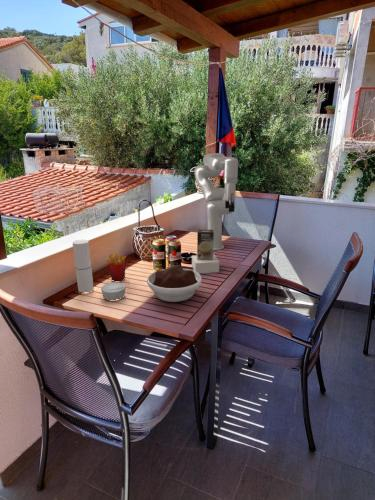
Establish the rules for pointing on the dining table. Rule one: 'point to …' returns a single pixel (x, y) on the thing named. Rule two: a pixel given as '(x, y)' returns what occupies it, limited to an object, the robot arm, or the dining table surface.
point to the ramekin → (113, 290)
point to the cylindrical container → (83, 265)
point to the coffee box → (205, 244)
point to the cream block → (205, 265)
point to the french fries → (117, 267)
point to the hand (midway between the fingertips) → (229, 209)
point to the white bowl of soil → (174, 283)
